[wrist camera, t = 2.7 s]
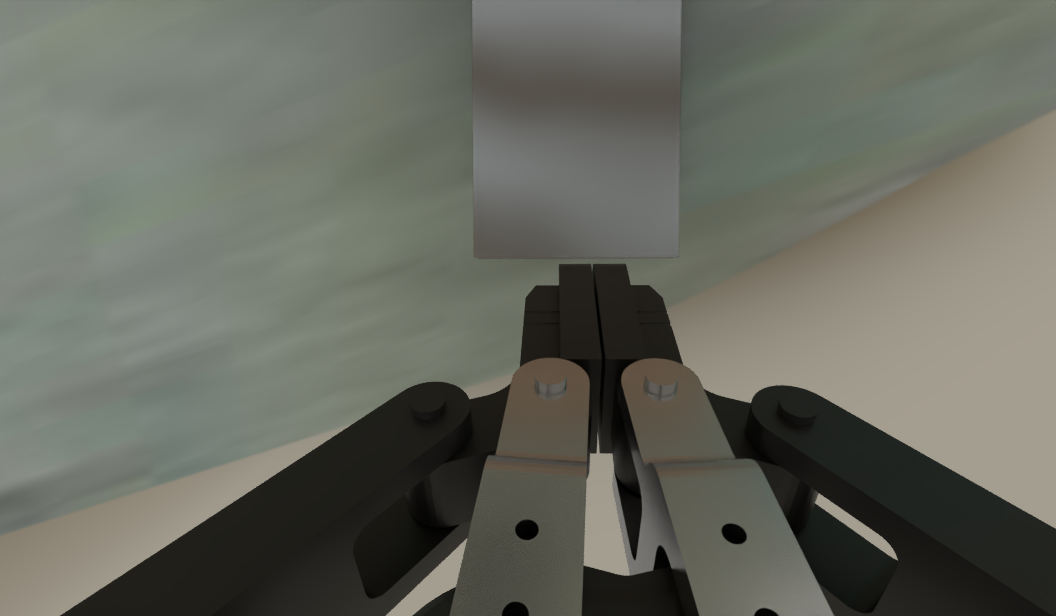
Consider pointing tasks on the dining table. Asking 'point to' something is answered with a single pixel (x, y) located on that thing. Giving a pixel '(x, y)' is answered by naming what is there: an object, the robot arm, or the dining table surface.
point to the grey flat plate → (576, 128)
